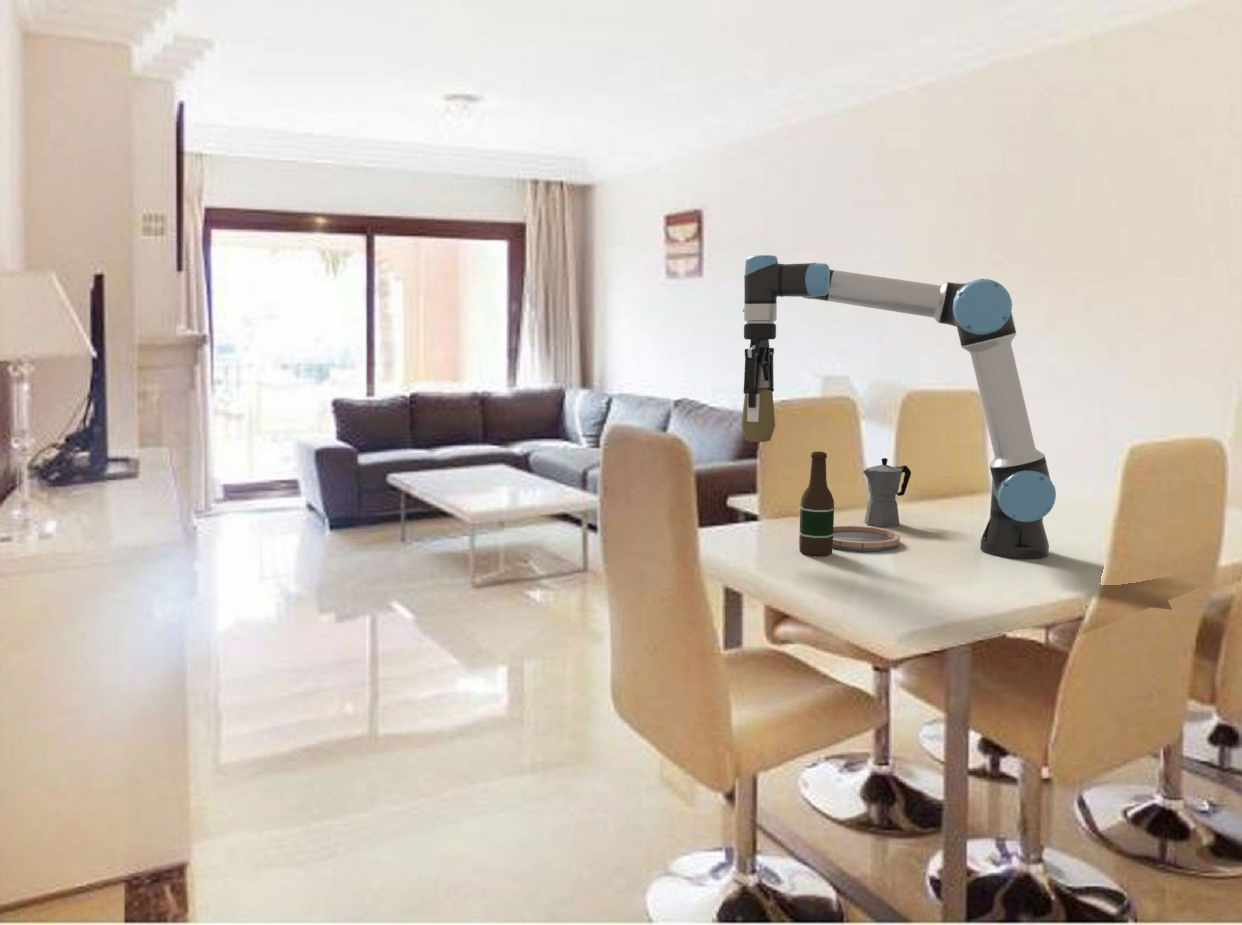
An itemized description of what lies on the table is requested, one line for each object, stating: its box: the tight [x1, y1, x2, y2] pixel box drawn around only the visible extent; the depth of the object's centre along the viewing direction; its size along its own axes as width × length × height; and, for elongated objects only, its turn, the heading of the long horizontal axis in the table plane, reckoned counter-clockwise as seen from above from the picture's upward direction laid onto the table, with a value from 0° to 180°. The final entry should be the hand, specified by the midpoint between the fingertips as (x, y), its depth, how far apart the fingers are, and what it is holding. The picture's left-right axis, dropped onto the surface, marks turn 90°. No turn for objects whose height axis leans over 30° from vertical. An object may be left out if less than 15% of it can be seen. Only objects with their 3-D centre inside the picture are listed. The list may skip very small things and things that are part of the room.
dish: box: [832, 524, 901, 553], centre depth 240 cm, size 20×20×2 cm
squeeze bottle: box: [740, 367, 776, 443], centre depth 231 cm, size 8×8×18 cm
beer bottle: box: [798, 451, 835, 557], centre depth 227 cm, size 8×8×24 cm
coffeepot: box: [862, 457, 912, 528], centre depth 262 cm, size 15×9×18 cm, turn 113°
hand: (758, 420), depth 231 cm, fingers closed on squeeze bottle, 6 cm apart
